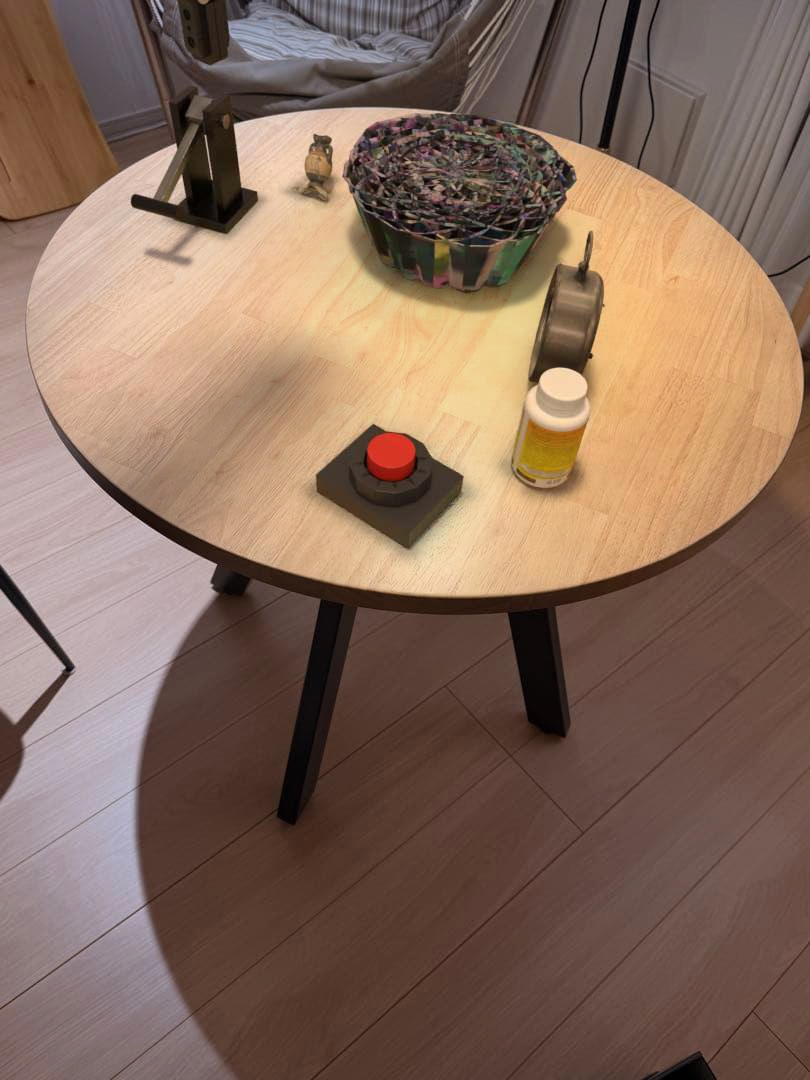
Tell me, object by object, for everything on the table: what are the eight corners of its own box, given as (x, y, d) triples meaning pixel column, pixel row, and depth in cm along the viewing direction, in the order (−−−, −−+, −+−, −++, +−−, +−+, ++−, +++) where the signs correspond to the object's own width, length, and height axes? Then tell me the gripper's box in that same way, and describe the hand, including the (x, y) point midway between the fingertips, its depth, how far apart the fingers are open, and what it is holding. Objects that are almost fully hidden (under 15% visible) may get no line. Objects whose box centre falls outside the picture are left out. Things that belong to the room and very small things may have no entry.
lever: (181, 226, 84) (173, 211, 81) (136, 213, 85) (126, 198, 82) (233, 119, 87) (226, 102, 84) (189, 108, 88) (181, 91, 85)
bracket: (226, 234, 92) (210, 121, 81) (173, 219, 93) (150, 107, 83) (258, 200, 96) (246, 89, 86) (207, 187, 97) (189, 76, 87)
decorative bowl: (563, 208, 102) (581, 128, 94) (553, 328, 84) (575, 239, 76) (369, 180, 103) (372, 99, 96) (318, 291, 85) (316, 202, 78)
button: (423, 461, 67) (425, 447, 66) (395, 489, 65) (396, 475, 64) (386, 439, 68) (387, 425, 67) (357, 466, 66) (357, 452, 65)
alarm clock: (532, 342, 83) (566, 195, 70) (584, 351, 82) (627, 205, 69) (520, 413, 76) (554, 266, 63) (576, 423, 76) (622, 277, 63)
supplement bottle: (579, 486, 71) (608, 403, 63) (520, 495, 70) (542, 411, 62) (559, 442, 74) (584, 357, 66) (502, 449, 73) (520, 364, 65)
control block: (461, 492, 70) (466, 461, 67) (407, 548, 66) (410, 519, 63) (372, 440, 73) (373, 408, 70) (316, 491, 69) (314, 460, 66)
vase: (312, 172, 101) (310, 124, 96) (349, 183, 99) (349, 136, 95) (290, 191, 98) (286, 143, 93) (328, 203, 96) (326, 155, 92)
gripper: (106, -287, 36) (177, 110, 49) (301, -311, 42) (315, 45, 56) (1, -312, 38) (96, 73, 52) (201, -331, 45) (238, 15, 59)
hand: (210, 58), depth 54 cm, fingers closed
